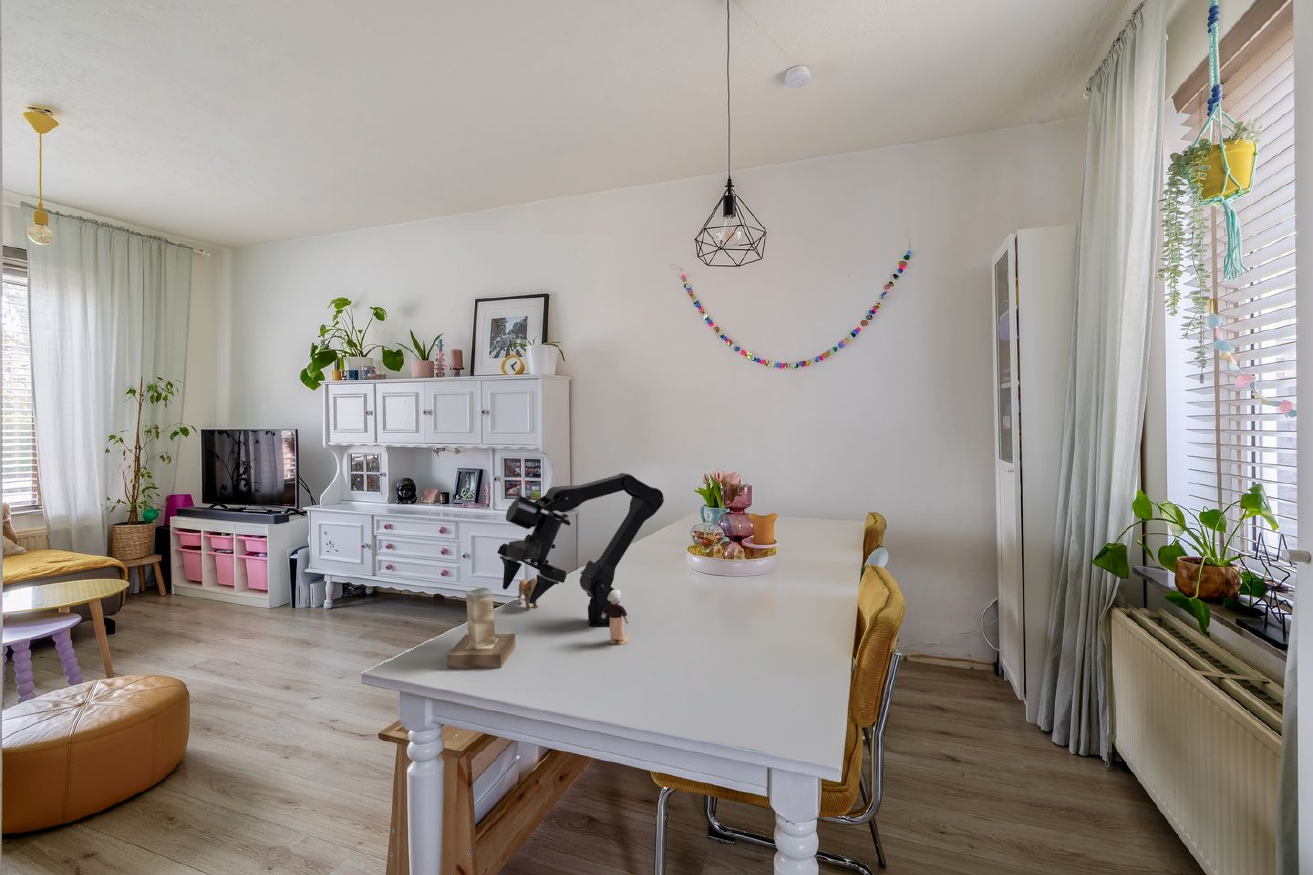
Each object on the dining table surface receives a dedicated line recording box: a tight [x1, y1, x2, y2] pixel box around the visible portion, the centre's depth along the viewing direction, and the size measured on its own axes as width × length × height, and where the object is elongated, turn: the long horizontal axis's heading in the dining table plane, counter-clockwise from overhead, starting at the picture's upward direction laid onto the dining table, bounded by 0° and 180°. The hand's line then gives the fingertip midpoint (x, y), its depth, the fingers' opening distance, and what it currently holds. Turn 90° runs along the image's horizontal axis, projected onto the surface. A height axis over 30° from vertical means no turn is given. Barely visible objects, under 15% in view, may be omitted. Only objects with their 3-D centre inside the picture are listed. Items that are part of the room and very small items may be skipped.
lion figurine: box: [516, 577, 539, 611], centre depth 186 cm, size 15×5×9 cm, turn 38°
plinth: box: [446, 633, 517, 669], centre depth 151 cm, size 12×12×3 cm
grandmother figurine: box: [601, 588, 630, 646], centre depth 157 cm, size 8×4×13 cm, turn 71°
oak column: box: [465, 587, 496, 649], centre depth 151 cm, size 5×5×12 cm
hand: (517, 596), depth 159 cm, fingers open, 9 cm apart
